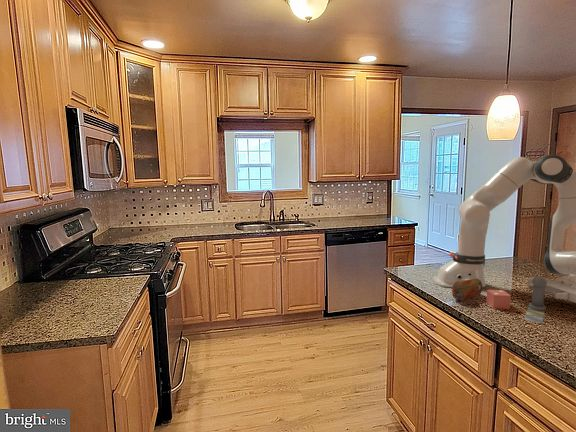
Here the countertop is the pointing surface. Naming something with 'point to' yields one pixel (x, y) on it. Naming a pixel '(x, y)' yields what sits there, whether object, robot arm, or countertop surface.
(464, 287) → the tin
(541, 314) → the board
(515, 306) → the countertop surface
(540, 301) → the pawn
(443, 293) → the countertop surface
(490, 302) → the die
